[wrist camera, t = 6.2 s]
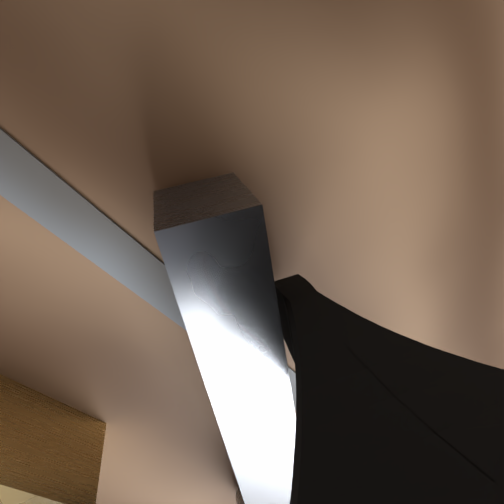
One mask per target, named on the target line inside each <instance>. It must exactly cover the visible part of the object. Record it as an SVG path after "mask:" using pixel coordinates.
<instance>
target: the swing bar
mask: <svg viewBox="0 0 504 504" xmlns="http://www.w3.org/2000/svg"><path fill="white" fill-rule="evenodd" d="M153 203H154V234H155V237H156V240H157V243H158V246H159V249H160V252H161V255H162V258H163V261H164V264H165V267H166V270H167V273H168V276H169V279H170V282H171V285H172V288H173V291H174V294H175V297H176V300H177V303H178V306H179V309H180V312H181V315H182V318H183V321H184V324H185V327H186V330H187V333H188V336H189V339H190V342H191V345H192V348H193V351H194V354H195V357H196V360H197V363H198V366H199V369H200V372H201V375H202V377H203V380H204V383H205V386H206V389H207V392H208V395H209V398H210V401H211V404H212V407H213V410H214V413H215V416H216V419H217V422H218V425H219V428H220V431H221V434H222V437H223V440H224V443H225V446H226V449H227V452H228V455H229V458H230V461H231V464H232V467H233V470H234V473H235V476H236V479H237V482H238V485H239V487H238V488H237V491H236V495H235V498H236V503H237V504H290V497H291V489H292V477H293V463H294V447H295V431H296V415H295V409H294V402H293V396H292V390H291V383H290V377H289V371H288V364H287V358H286V351H285V345H284V339H283V332H282V326H281V320H280V313H279V307H278V301H277V294H276V288H275V282H274V275H273V269H272V262H271V256H270V250H269V243H268V237H267V231H266V224H265V218H264V212H263V205H262V204H261V202H260V201H259V200H258V199H257V198H256V197H255V196H254V195H253V194H252V193H251V191H250V190H249V189H248V188H247V187H246V186H245V185H244V184H243V183H242V182H241V180H240V179H239V178H238V177H237V176H236V175H235V174H234V173H229V174H224V175H220V176H216V177H212V178H207V179H203V180H199V181H195V182H190V183H186V184H182V185H177V186H173V187H169V188H165V189H160V190H156V191H153Z"/></svg>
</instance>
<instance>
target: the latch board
mask: <svg viewBox="0 0 504 504" xmlns="http://www.w3.org/2000/svg"><path fill="white" fill-rule="evenodd" d="M229 173H234V174H235V175H236V176H237V177H238V178H239V179H240V180H241V182H242V183H243V184H244V185H245V186H246V187H247V188H248V189H249V190H250V191H251V193H252V194H253V195H254V196H255V197H256V198H257V199H258V200H259V201H260V202H261V204H262V205H263V212H264V218H265V224H266V231H267V237H268V243H269V250H270V256H271V262H272V269H273V275H274V281H277V280H280V279H283V278H286V277H290V276H293V275H296V274H299V275H301V276H302V277H303V278H305V279H306V280H307V281H308V282H309V283H311V284H312V286H313V287H314V288H315V289H316V291H318V292H319V293H321V294H322V295H324V296H326V297H327V298H329V299H331V300H333V301H334V302H336V303H338V304H340V305H341V306H343V307H345V308H347V309H349V310H350V311H352V312H354V313H356V314H358V315H360V316H362V317H363V318H366V319H368V320H370V321H372V322H374V323H376V324H378V325H380V326H382V327H384V328H386V329H389V330H391V331H393V332H396V333H398V334H400V335H403V336H405V337H408V338H410V339H413V340H415V341H418V342H420V343H423V344H426V345H428V346H431V347H434V348H437V349H440V350H442V351H445V352H448V353H451V354H455V355H458V356H461V357H464V358H467V359H470V360H473V361H476V362H479V363H483V364H486V365H490V366H493V367H497V368H500V369H504V0H0V374H1V375H4V376H6V377H8V378H10V379H12V380H14V381H16V382H19V383H21V384H23V385H25V386H27V387H29V388H32V389H34V390H36V391H38V392H40V393H42V394H44V395H47V396H49V397H51V398H53V399H55V400H57V401H60V402H62V403H64V404H66V405H68V406H70V407H73V408H75V409H77V410H79V411H81V412H83V413H85V414H88V415H90V416H92V417H94V418H96V419H98V420H101V421H103V422H105V423H106V431H105V438H104V446H103V453H102V460H101V468H100V475H99V483H98V490H97V497H96V504H237V503H236V498H235V495H236V491H237V488H238V487H239V485H238V482H237V479H236V476H235V473H234V470H233V467H232V464H231V461H230V458H229V455H228V452H227V449H226V446H225V443H224V440H223V437H222V434H221V431H220V428H219V425H218V422H217V419H216V416H215V413H214V410H213V407H212V404H211V401H210V398H209V395H208V392H207V389H206V386H205V383H204V380H203V377H202V375H201V372H200V369H199V366H198V363H197V360H196V357H195V354H194V351H193V348H192V345H191V342H190V339H189V336H188V333H187V330H186V327H185V324H184V321H183V318H182V315H181V312H180V309H179V306H178V303H177V300H176V297H175V294H174V291H173V288H172V285H171V282H170V279H169V276H168V273H167V270H166V267H165V264H164V261H163V258H162V255H161V252H160V249H159V246H158V243H157V240H156V237H155V234H154V203H153V191H156V190H160V189H165V188H169V187H173V186H177V185H182V184H186V183H190V182H195V181H199V180H203V179H207V178H212V177H216V176H220V175H224V174H229ZM283 339H284V338H283ZM284 345H285V351H286V358H287V364H288V371H289V377H290V383H291V390H292V396H293V402H294V409H295V415H296V373H295V363H294V361H293V359H292V356H291V354H290V352H289V350H288V347H287V345H286V343H285V340H284Z"/></svg>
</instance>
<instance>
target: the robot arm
mask: <svg viewBox="0 0 504 504" xmlns="http://www.w3.org/2000/svg"><path fill="white" fill-rule="evenodd" d="M274 282H275V288H276V294H277V301H278V307H279V313H280V320H281V326H282V332H283V338H284V340H285V343H286V345H287V347H288V350H289V352H290V354H291V356H292V359H293V361H294V363H295V373H296V431H295V447H294V463H293V477H292V489H291V497H290V504H504V369H500V368H497V367H493V366H490V365H486V364H483V363H479V362H476V361H473V360H470V359H467V358H464V357H461V356H458V355H455V354H451V353H448V352H445V351H442V350H440V349H437V348H434V347H431V346H428V345H426V344H423V343H420V342H418V341H415V340H413V339H410V338H408V337H405V336H403V335H400V334H398V333H396V332H393V331H391V330H389V329H386V328H384V327H382V326H380V325H378V324H376V323H374V322H372V321H370V320H368V319H366V318H363V317H362V316H360V315H358V314H356V313H354V312H352V311H350V310H349V309H347V308H345V307H343V306H341V305H340V304H338V303H336V302H334V301H333V300H331V299H329V298H327V297H326V296H324V295H322V294H321V293H319V292H318V291H316V289H315V288H314V287H313V286H312V284H311V283H309V282H308V281H307V280H306V279H305V278H303V277H302V276H301V275H299V274H296V275H293V276H290V277H286V278H283V279H280V280H277V281H274Z"/></svg>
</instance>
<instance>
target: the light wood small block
mask: <svg viewBox="0 0 504 504" xmlns="http://www.w3.org/2000/svg"><path fill="white" fill-rule="evenodd" d="M105 431H106V423H105V422H103V421H101V420H98V419H96V418H94V417H92V416H90V415H88V414H85V413H83V412H81V411H79V410H77V409H75V408H73V407H70V406H68V405H66V404H64V403H62V402H60V401H57V400H55V399H53V398H51V397H49V396H47V395H44V394H42V393H40V392H38V391H36V390H34V389H32V388H29V387H27V386H25V385H23V384H21V383H19V382H16V381H14V380H12V379H10V378H8V377H6V376H4V375H1V374H0V504H96V497H97V490H98V483H99V475H100V468H101V460H102V453H103V446H104V438H105Z"/></svg>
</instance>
